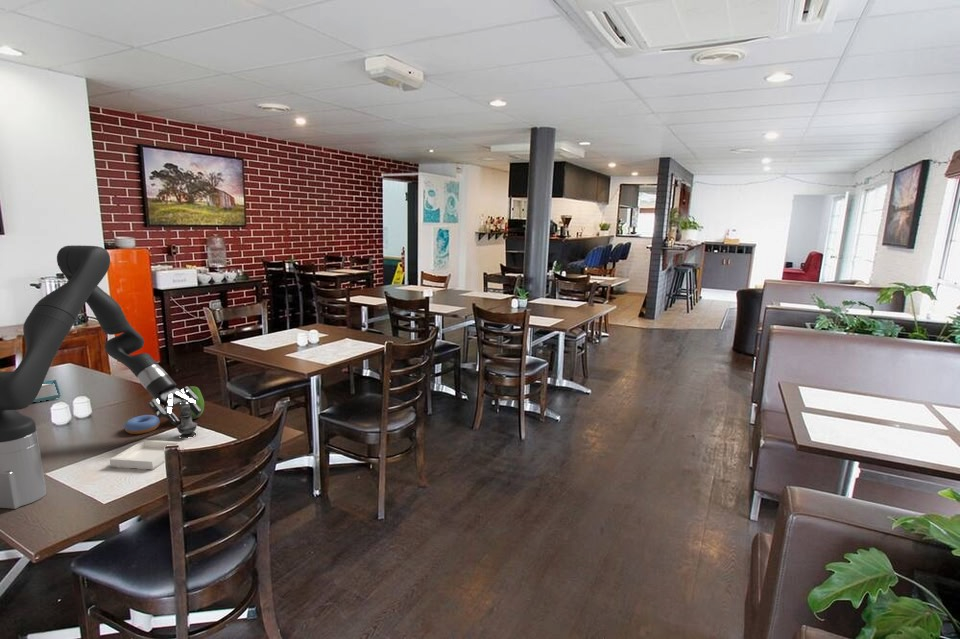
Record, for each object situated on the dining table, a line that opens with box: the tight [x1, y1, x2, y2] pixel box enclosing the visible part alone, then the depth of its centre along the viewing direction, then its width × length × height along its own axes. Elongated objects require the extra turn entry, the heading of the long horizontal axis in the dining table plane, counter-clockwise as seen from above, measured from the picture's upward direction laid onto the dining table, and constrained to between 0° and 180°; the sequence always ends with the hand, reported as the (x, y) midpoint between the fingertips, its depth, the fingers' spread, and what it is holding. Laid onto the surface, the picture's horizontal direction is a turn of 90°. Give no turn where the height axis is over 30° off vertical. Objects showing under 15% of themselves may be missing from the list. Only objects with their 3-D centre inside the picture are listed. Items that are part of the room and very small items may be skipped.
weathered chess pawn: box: [176, 401, 198, 438], centre depth 162 cm, size 6×6×12 cm
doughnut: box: [124, 414, 161, 435], centre depth 168 cm, size 10×10×5 cm
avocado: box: [178, 385, 205, 420], centre depth 177 cm, size 8×8×12 cm
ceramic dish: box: [109, 439, 185, 471], centre depth 148 cm, size 13×13×2 cm
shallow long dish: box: [32, 379, 62, 403], centre depth 201 cm, size 26×9×2 cm, turn 43°
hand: (188, 418), depth 162 cm, fingers open, 8 cm apart
